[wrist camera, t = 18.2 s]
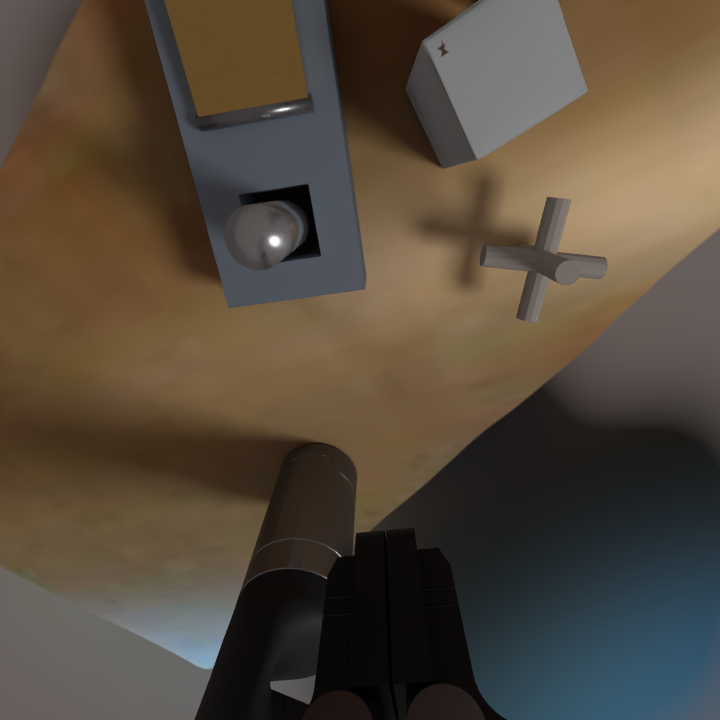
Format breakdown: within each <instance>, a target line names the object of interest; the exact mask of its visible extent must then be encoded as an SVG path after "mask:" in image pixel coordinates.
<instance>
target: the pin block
mask: <svg viewBox="0 0 720 720" xmlns="http://www.w3.org/2000/svg"><path fill="white" fill-rule="evenodd" d="M144 1H145V4H146V8H147V12H148V15H149V19H150V22H151V26H152V30H153V33H154V37H155V41H156V44H157V48H158V52H159V55H160V59H161V63H162V66H163V70H164V74H165V77H166V81H167V85H168V88H169V92H170V96H171V99H172V103H173V106H174V110H175V114H176V117H177V121H178V125H179V128H180V132H181V136H182V139H183V143H184V147H185V150H186V154H187V158H188V161H189V165H190V169H191V172H192V176H193V180H194V183H195V187H196V190H197V194H198V198H199V201H200V205H201V209H202V212H203V216H204V220H205V223H206V227H207V231H208V234H209V238H210V242H211V245H212V249H213V253H214V256H215V260H216V264H217V267H218V271H219V275H220V278H221V282H222V285H223V289H224V293H225V296H226V300H227V304H228V307H229V308H233V307H240V306H247V305H254V304H262V303H269V302H276V301H283V300H290V299H298V298H305V297H312V296H319V295H327V294H334V293H341V292H348V291H355V290H363V289H365V285H366V270H365V263H364V256H363V249H362V242H361V235H360V227H359V220H358V213H357V206H356V199H355V192H354V185H353V178H352V171H351V164H350V156H349V149H348V142H347V135H346V128H345V121H344V114H343V107H342V100H341V92H340V85H339V78H338V71H337V64H336V57H335V50H334V43H333V36H332V28H331V21H330V14H329V7H328V0H292V1H293V7H294V12H295V18H296V24H297V29H298V35H299V41H300V46H301V52H302V58H303V64H304V69H305V75H306V81H307V86H308V92H309V93H311V95H312V99H313V104H314V113H308V114H303V115H297V116H291V117H286V118H280V119H274V120H268V121H263V122H257V123H251V124H246V125H240V126H234V127H228V128H223V129H217V130H211V131H206V132H201V131H200V130H199V128H198V126H197V123H196V118H195V115H196V113H197V111H196V108H195V104H194V101H193V97H192V94H191V91H190V87H189V84H188V80H187V77H186V73H185V70H184V66H183V63H182V59H181V56H180V53H179V49H178V46H177V42H176V39H175V35H174V32H173V28H172V25H171V22H170V18H169V15H168V11H167V8H166V4H165V1H164V0H144ZM308 185H309V190H310V196H311V202H312V207H313V213H314V218H315V224H316V230H317V235H318V241H319V246H320V248H317V249H310V250H303V251H297V252H291V253H290V254H289V255H288V256H286V257H285V258H284V259H283V260H281V261H280V262H279V263H278V264H276V265H275V266H273V267H272V268H269V269H266V270H252V269H249V268H246V267H244V266H242V265H241V264H239V263H238V262H237V261H236V260H235V259H234V258H233V257H232V256H231V254H230V253H229V251H228V249H227V247H226V244H225V239H224V229H225V225H226V222H227V220H228V218H229V217H230V215H231V214H232V213H233V212H234V211H235V210H236V209H238V208H240V207H242V206H245V205H250V204H257V203H260V201H259V196H258V194H259V193H265V192H271V191H277V190H283V189H290V188H296V187H302V186H308Z"/></svg>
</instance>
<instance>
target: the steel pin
mask: <svg viewBox="0 0 720 720" xmlns="http://www.w3.org/2000/svg"><path fill="white" fill-rule="evenodd" d="M315 227H316V224H315V218H314V213H313V210H312V209H311V207H310V206H309V205H308V204H307V203H305V202H304V201H302V200H299V199H286V200H278V201H271V202H264V203H257V204H250V205H245V206H242V207H240V208H238V209H236V210H235V211H234V212H233V213H232V214H231V215H230V217H229V218H228V220H227V222H226V225H225V229H224V239H225V244H226V247H227V249H228V251H229V253H230V254H231V256H232V257H233V258H234V259H235V260H236V261H237V262H238V263H239V264H241V265H242V266H244V267H246V268H249V269H252V270H266V269H269V268H272V267H273V266H275V265H276V264H278V263H279V262H280V261H281V260H283V259H284V258H285V257H286V256H288V255H289V254H290V253H291V252H293V251H294V250H295V249H296V248H298V247H299V246H300V245H301V244H303V243H304V242H305V241H306V240H308V239H309V238H310V237H311V236H312V234H313V233H314V230H315Z"/></svg>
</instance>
